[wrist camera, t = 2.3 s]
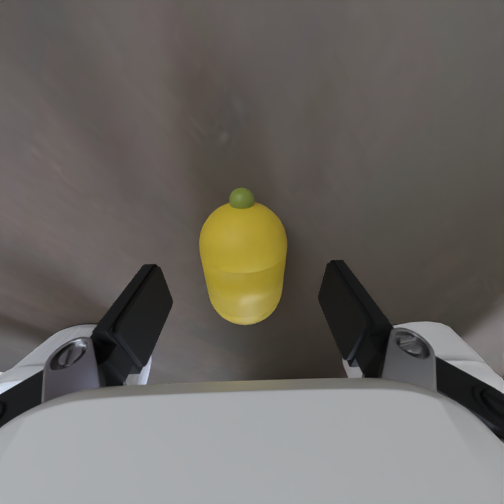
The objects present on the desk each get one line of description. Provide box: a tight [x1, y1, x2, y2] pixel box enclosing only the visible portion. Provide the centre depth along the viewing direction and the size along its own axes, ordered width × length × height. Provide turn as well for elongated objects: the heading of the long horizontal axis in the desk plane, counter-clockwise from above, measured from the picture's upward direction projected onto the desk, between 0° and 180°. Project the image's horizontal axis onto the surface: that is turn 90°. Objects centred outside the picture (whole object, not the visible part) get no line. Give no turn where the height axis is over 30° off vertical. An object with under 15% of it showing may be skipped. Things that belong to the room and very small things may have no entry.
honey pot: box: [342, 321, 504, 394], centre depth 15 cm, size 13×13×18 cm
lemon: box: [199, 188, 287, 325], centre depth 11 cm, size 10×5×5 cm, turn 0°
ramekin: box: [0, 324, 151, 394], centre depth 18 cm, size 11×11×5 cm
